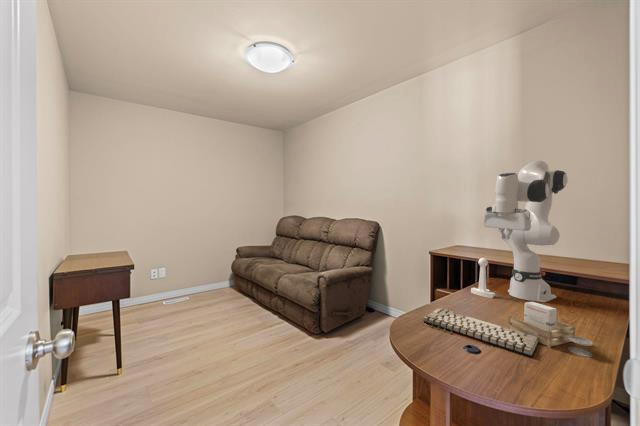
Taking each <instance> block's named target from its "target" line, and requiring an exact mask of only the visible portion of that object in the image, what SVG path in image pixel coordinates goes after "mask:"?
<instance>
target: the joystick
mask: <svg viewBox="0 0 640 426" xmlns="http://www.w3.org/2000/svg"><path fill="white" fill-rule="evenodd" d="M477 263H478V265H479V267H480V268H479V279H478V288H477V287H471V288H470V293H471V294H474V295H477V296H480V297H484V298H489V299H493V298H494V297H496V292H493V291H491V290H490V289H487V275H486V274H487V272H486V267H487V266H488V264H489V261H488V259H487V258H484V257H480V258H479V259H478V261H477Z"/></svg>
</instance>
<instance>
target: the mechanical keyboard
mask: <svg viewBox="0 0 640 426" xmlns="http://www.w3.org/2000/svg"><path fill="white" fill-rule="evenodd" d="M423 321H424V323H426V324H427V325H429V326H428V327H427V325H426V326H425V327H427V328H430V329H432V330H433V329H434V330H437V331H440V332H442V333H445V334H449V335H452V336H454V337H460V338H462V339H466V340H469V341H471V342H475V343H478V344H481V345H485V346H488V347H492V348H495V349H496V348H497V349H500V350H504V351H508V352H510V353H514V354H517V355H519V356H523V357H525V358H527V359H528V358H529V359H533V358H534V357H535V354H537V353H536V352H537V350H538V347H537V345H538V343H539V342H538V338H537V337H536V336H532V335H529V334H528V335H527V337H526V336H525V333H522V332H518V331H515V332H514V331H513V330H511V329H508V327H502V325H498V324H494V323H490V322H487V321H483V320H481V319H477V318H474V317H470V316H465V315H463V314H459V313H457V314H456V313H455V311H454V310H449V309H447V308H442V307H439V308H436V309H435V310H433V311H432V312H430V313H428V314H426V315H425V316H423V318H422V322H423Z"/></svg>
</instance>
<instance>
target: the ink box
mask: <svg viewBox="0 0 640 426" xmlns="http://www.w3.org/2000/svg"><path fill="white" fill-rule="evenodd" d="M557 316H558V313H557V308H555V307H552V306H549V305H545V304H541V303H539V302H536V301H528V302H527V301H526V302H524V309H523V321H524V322H527V323H529V324H532V325H534V326H537V327H539V328H542V329H545V330H547V331H553V330H556V328H557V326H556V320H557ZM523 329H524V330H526V331H529V332H531V333H534V334H536V335H538V336H541V337H543V338H546V339H547V337H545V336H543V335H540V334H538V333H536V332H533V331H531V330H528V329H526V328H523ZM554 338H557V337H554ZM554 338H551V339H554Z"/></svg>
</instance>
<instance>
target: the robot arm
mask: <svg viewBox="0 0 640 426" xmlns="http://www.w3.org/2000/svg"><path fill="white" fill-rule="evenodd" d="M567 175H568V174H567V173H566V172H565V171H563V170H549V165H548V163H546V162H545V161H543V160H534V161H531V162H529V163H526V165H525V164H524V166H523V167H522V168H521V169H520V170H519V172H518V173H516V172H505V173H500V174H498V175H497V176H496V181H495V187H494V188H495V192H494V193H495V201H494V204H492V205H489V206H486V207H484V212H485V213H484V215H483V223H482V224H483V226H484V227H485V228H491V229H498V232H499V236H500V238H501V240H503V241H504V242H505V243H506V244H508V246H509V248H510V249H511V251H512V255H513V268H512V270H511V271H512V276H511V278H510V283H509V289H507V292H508V293H509V295H510V296H511V297H514V298H517V299H520V300H526V301H529V302H538V303H539V302H540V303H546V302H547V303H548V302H549V301H552V300H554V299H557V295H555V294H554V293H551V291H552V290H551V286H550V285H549V283H548V282H546V281H545V280H544V279H543V277H544V276H545V275H546V272H545V271H541V258H540V255H539V254H537V253H536V252H534V251H532V250H531V249H530V248H529V247H528V245H530V246H531V245H535V246H554V245H556V244H557V242H559V239H560V231H559V229H558V228H557V227H556V226H554V225H553V224H551V223H550V221H549V215H550V211H551V208H552V204H553V194H555V195H556V194H558V193H559V192H560V191H562V190H563V189H565V187H567V186H566V185H567V184H568V176H567ZM521 202H525V206H524V208H522V209H521V208H519V203H521ZM542 276H543V277H542Z"/></svg>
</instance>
